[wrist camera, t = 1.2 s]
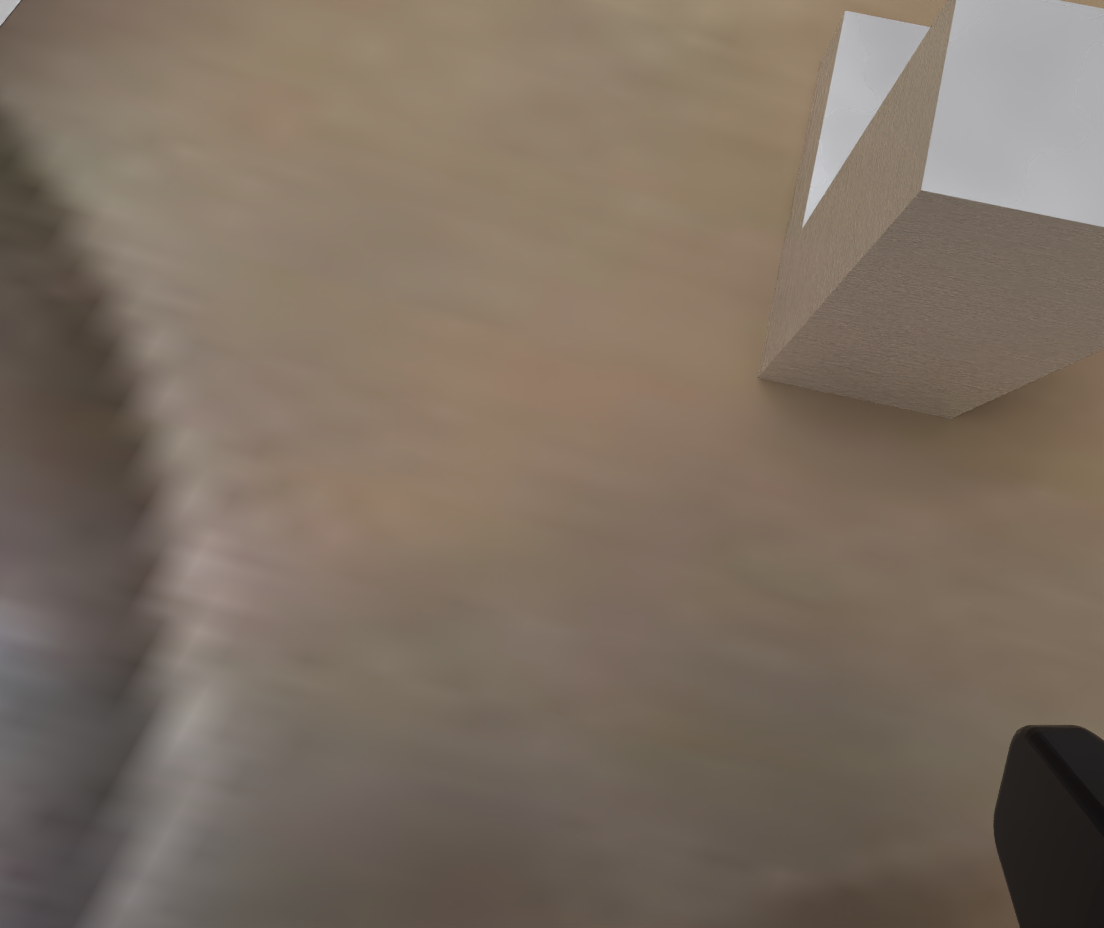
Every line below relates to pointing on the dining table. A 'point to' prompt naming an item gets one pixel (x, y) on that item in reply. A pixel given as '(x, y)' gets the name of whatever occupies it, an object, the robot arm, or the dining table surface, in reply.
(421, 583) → the dining table surface
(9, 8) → the heart sculpture
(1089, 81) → the white l-shaped block
